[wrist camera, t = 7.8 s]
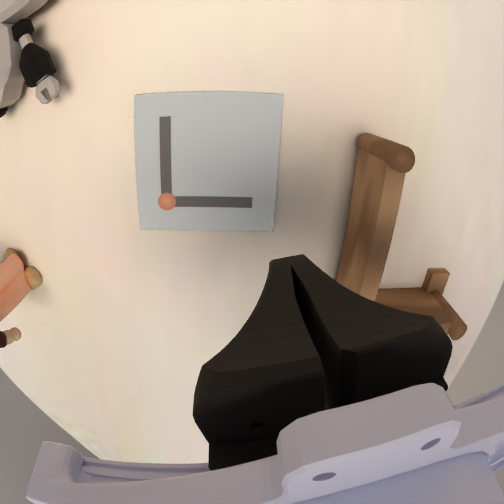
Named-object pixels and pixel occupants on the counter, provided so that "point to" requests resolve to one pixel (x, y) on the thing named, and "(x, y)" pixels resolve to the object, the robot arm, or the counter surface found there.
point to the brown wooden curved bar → (372, 212)
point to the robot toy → (23, 55)
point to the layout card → (207, 160)
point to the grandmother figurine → (14, 289)
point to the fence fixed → (426, 302)
